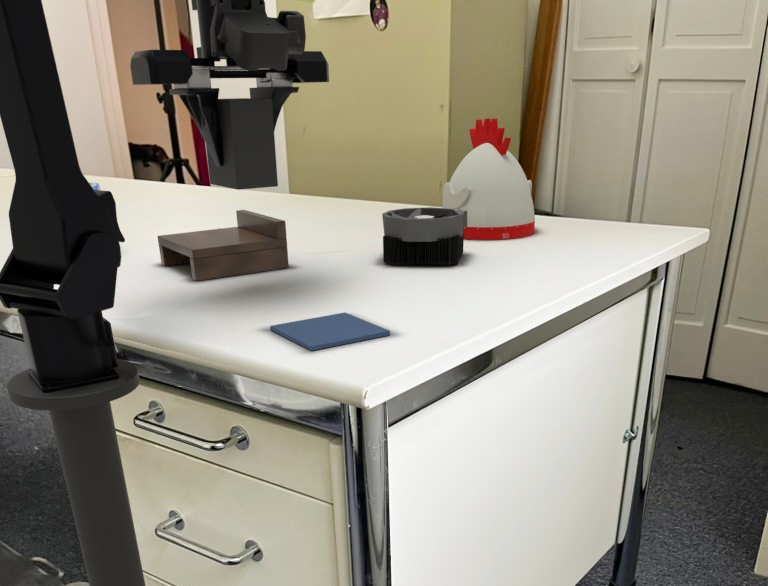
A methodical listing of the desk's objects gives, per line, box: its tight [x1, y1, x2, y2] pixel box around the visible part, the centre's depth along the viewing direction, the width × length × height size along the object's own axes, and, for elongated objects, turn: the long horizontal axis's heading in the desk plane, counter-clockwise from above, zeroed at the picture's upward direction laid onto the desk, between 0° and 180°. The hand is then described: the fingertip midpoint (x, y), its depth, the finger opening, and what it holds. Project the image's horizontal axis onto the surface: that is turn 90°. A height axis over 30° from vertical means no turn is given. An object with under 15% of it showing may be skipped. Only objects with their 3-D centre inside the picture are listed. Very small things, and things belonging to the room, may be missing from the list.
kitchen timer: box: [441, 117, 536, 241], centre depth 115 cm, size 14×14×15 cm
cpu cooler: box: [381, 206, 467, 266], centre depth 100 cm, size 10×6×10 cm
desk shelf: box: [157, 209, 290, 282], centre depth 99 cm, size 12×12×6 cm
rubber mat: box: [269, 312, 391, 352], centre depth 73 cm, size 8×8×1 cm
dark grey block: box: [205, 97, 279, 191], centre depth 82 cm, size 4×7×8 cm, turn 34°
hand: (241, 164), depth 83 cm, fingers closed on dark grey block, 4 cm apart
